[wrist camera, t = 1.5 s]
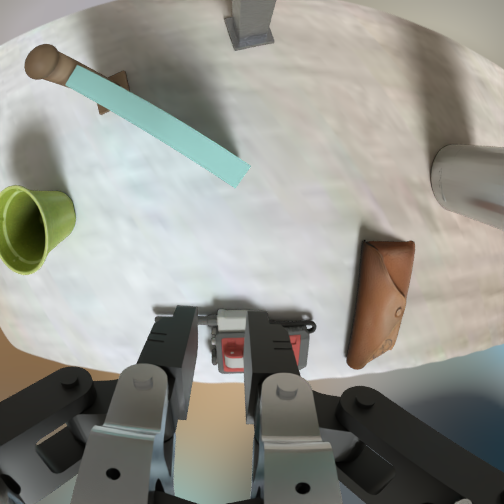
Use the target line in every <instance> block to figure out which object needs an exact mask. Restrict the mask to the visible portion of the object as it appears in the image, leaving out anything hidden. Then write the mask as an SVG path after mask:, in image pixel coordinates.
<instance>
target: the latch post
mask: <svg viewBox="0 0 504 504" xmlns="http://www.w3.org/2000/svg"><path fill="white" fill-rule="evenodd" d="M275 3H276V0H232V17H230V18H225V23H226V25H227V29H228V32H229V35H230V38H231V41H232V44H233V47H234V50H235V51H237V50H241V49H246V48H250V47H255V46H261V45H266V44H272V43H274V39H273V36H272V33H271V30H270V27H269V25H270V22H271V18H272V14H273V10H274V7H275Z"/></svg>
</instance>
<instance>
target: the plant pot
mask: <svg viewBox="0 0 504 504" xmlns="http://www.w3.org/2000/svg"><path fill="white" fill-rule="evenodd" d="M75 221H76V215H75V212H74V207H73V203H72V201H71V199H70V198H69V197H68V196H67V195H66V194H65V193H63V192H60V191H32V190H29V189H27V188H25V187H23V186H19V185H13V186H9V187H7V188H5V189H4V190H3V191H1V193H0V258H1V259H2V261H3V262H4V264H5V265H6V266H7V267H8V268H9V269H11V270H12V271H14V272H16V273H18V274H21V275H29V274H33V273H35V272H36V271H37V270H39V269H40V267H41V266H42V265H43V263H44V261H45V259H46V257H47V255H48V253H49V252H50V251H51V250H52V249H53V248H55V247H56V246H57V245H58V244H59V243H60V242H61V241H63V240H64V239H65V238H66V237H67V236H68V235H69V234H70V233H71V232H72V230H73V228H74V226H75Z"/></svg>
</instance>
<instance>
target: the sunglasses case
mask: <svg viewBox="0 0 504 504" xmlns="http://www.w3.org/2000/svg"><path fill="white" fill-rule="evenodd" d="M365 241H366V240H363V244H362V249H361V261H360V275H359V284H358V293H357V301H356V308H355V315H354V321H353V327H352V333H351V339H350V344H349V348H348V354H347V364H348V365H349V366H350V367H351V368H353V369H357V370H358V369H362V368H363V367H364V366H365V365H366V364H367V363H368V362H370V361H372V360H373V359H375V358H377V357H378V356H380V355H381V354H383V353H385V352H386V351H388V350H392V348H393V346H394V344H395V342H396V338H397V335H398V331H399V328H400V324H401V320H402V317H403V314H404V310H405V306H406V298H407V293H408V288H409V283H410V278H411V273H412V267H413V261H414V254H415V243H414V242H413V241H409V242H408V241H407V242H394V241H393V242H389V241H387V242H386V241H369V242H365Z"/></svg>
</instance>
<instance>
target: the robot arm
mask: <svg viewBox="0 0 504 504" xmlns="http://www.w3.org/2000/svg"><path fill="white" fill-rule="evenodd" d="M431 182H432V188H433V192H434V195H435V197H436V199H437V201H438V202H439V204H440V205H441V206H442V207H443V208H445V209H446V210H448V211H451V212H454V213H457V214H460V215H463V216H465V217H468V218H471V219H473V220H476V221H479V222H482V223H484V224H487V225H489V226H492V227H495V228H497V229H500V230H502V231H504V147H493V146H477V145H456V144H452V145H447V146H445V147H443V148H442V149H441V150H440V151H439V152H438V154H437V155H436V157H435V160H434V162H433V166H432V172H431ZM197 350H198V310H197V307H193V306H181V305H178V306H177V308H176V310H175V313H174V316H173V318H169V317H162V318H161V319H160V320H158V321H157V322H156V323H154V325H153V327H152V330H151V332H150V334H149V336H148V338H147V341H146V343H145V345H144V348H143V350H142V352H141V354H140V357H139V359H138V361H137V364H135V365H132V366H130V367H128V368H126V369H125V370H123V371H122V373H121V374H120V376H119V379H117V380H110V381H93V380H92V377H91V375H90V374H89V372H88V371H86V370H85V369H83V368H80V367H65V368H62V369H60V370H58V371H56V372H54V373H52V374H50V375H48V376H47V377H45V378H43V379H41V380H39V381H38V382H36V383H34V384H32V385H30V386H29V387H27V388H25V389H23V390H21V391H20V392H18V393H16V394H14V395H12V396H11V397H9V398H7V399H5V400H3V401H1V402H0V504H35V503H37V502H38V501H40V500H41V499H43V498H44V497H46V496H47V495H49V494H50V493H52V492H53V491H54V490H56V489H57V488H59V487H60V486H61V485H63V484H64V483H65V482H67V481H68V480H70V479H71V478H73V477H74V476H75V475H76V474H78V476H77V479H76V483H75V486H74V490H73V495H72V499H71V503H70V504H197V503H194V502H191V501H188V500H185V499H181V498H179V497H176V496H175V493H174V481H173V480H174V458H175V442H176V441H175V440H176V434H175V431H176V427H177V422H178V419H180V420H186V419H187V412H188V406H189V400H190V394H191V387H192V382H193V376H194V370H195V364H196V358H197ZM243 361H244V385H245V406H246V407H245V408H246V424H254V431H255V435H254V440H253V460H252V486H251V496H250V499H249V500H244V501H239V502H234V503H227V504H343V503H342V498H341V492H340V486H339V481H340V482H342V483H343V484H344V485H345V486H346V487H347V488H348V489H350V490H351V491H352V492H353V493H354V494H356V495H357V496H358V497H359V498H360V499H361V500H363V501H364V502H365V503H366V504H504V473H503V472H502V471H500V470H498V469H496V468H495V467H493V466H491V465H490V464H488V463H486V462H485V461H483V460H482V459H480V458H478V457H477V456H475V455H473V454H472V453H470V452H469V451H467V450H465V449H464V448H462V447H460V446H459V445H457V444H456V443H454V442H453V441H451V440H450V439H448V438H447V437H445V436H443V435H442V434H440V433H439V432H437V431H436V430H434V429H433V428H431V427H430V426H428V425H427V424H425V423H424V422H422V421H420V420H419V419H418V418H416V417H415V416H413V415H411V414H410V413H409V412H407V411H406V410H404V409H403V408H401V407H400V406H398V405H397V404H396V403H394V402H392V401H391V400H389V399H388V398H387V397H385V396H384V395H383V394H381V393H380V392H378V391H376V390H375V389H372V388H370V387H365V386H355V387H351V388H349V389H347V390H345V391H344V392H343V394H342V395H341V397H337V396H331V395H326V394H321V393H318V392H316V391H313V390H312V388H311V386H310V384H309V383H308V382H307V381H306V380H305V379H304V378H302V377H301V376H300V372H299V369H298V365H297V362H296V358H295V355H294V351H293V347H292V344H291V340H290V337H289V333H288V332H287V331H286V330H285V328H284V327H283V326H282V325H281V324H269V319H268V313H267V311H256V310H247V315H246V326H245V338H244V353H243ZM64 423H66V424H67V427H65V428H64V429H62V430H61V431H59V432H58V433H56V434H55V435H53V436H52V437H50V438H48V439H47V440H45V441H44V442H42V443H41V444H39V445H36V443H37V442H38V441H39V440H40V439H41V438H43V437H44V436H46V435H48V434H49V433H51V432H52V431H54V430H55V429H57V428H58V427H60V426H61V425H63V424H64ZM366 445H367V446H366ZM368 446H369V447H370V448H371V449H373V450H374V451H375V452H376V453H378V454H379V455H380V456H382V457H383V458H384V459H385V460H387V461H388V462H389V463H391V464H392V465H393V466H392V465H391V464H389V463H388V462H387V461H385V460H384V459H383V458H382V457H380V456H379V455H378V454H376V453H375V452H374V451H372V450H371V449H370V448H369V447H368ZM338 480H339V481H338Z"/></svg>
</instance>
